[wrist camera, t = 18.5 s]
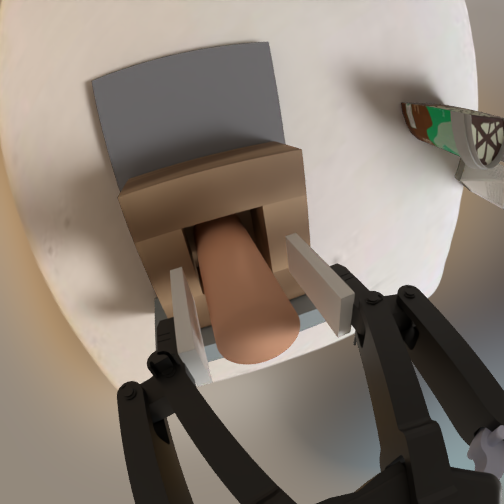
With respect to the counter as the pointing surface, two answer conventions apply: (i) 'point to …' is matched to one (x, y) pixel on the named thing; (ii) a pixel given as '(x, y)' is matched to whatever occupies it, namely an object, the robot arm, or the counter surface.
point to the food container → (458, 132)
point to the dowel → (242, 294)
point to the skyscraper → (483, 182)
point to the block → (217, 213)
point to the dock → (192, 122)
